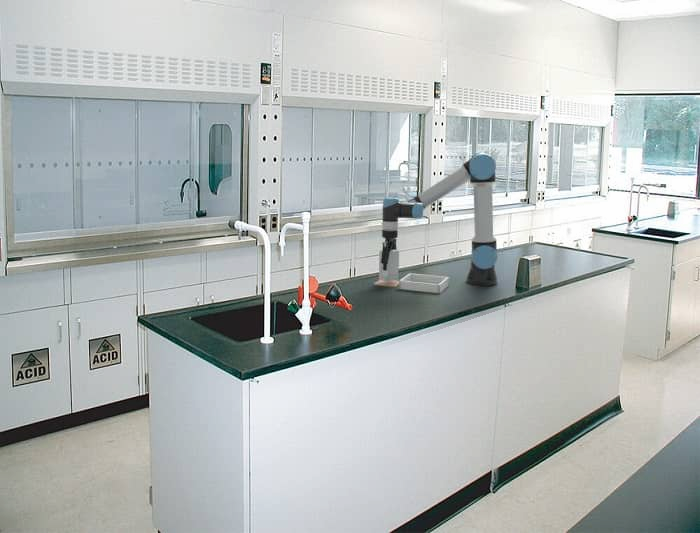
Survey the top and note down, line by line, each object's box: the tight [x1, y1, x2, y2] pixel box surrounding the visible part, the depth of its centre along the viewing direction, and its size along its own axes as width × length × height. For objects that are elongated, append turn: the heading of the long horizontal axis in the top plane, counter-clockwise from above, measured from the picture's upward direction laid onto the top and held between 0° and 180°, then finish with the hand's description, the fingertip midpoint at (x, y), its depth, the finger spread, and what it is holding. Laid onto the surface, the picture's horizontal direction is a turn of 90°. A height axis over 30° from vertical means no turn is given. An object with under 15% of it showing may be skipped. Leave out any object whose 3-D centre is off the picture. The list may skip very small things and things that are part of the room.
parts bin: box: [398, 272, 450, 294], centre depth 335 cm, size 20×18×4 cm
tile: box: [373, 279, 399, 288], centre depth 341 cm, size 11×11×1 cm
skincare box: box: [378, 249, 400, 282], centre depth 339 cm, size 8×6×15 cm
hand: (388, 274), depth 340 cm, fingers closed on skincare box, 10 cm apart
